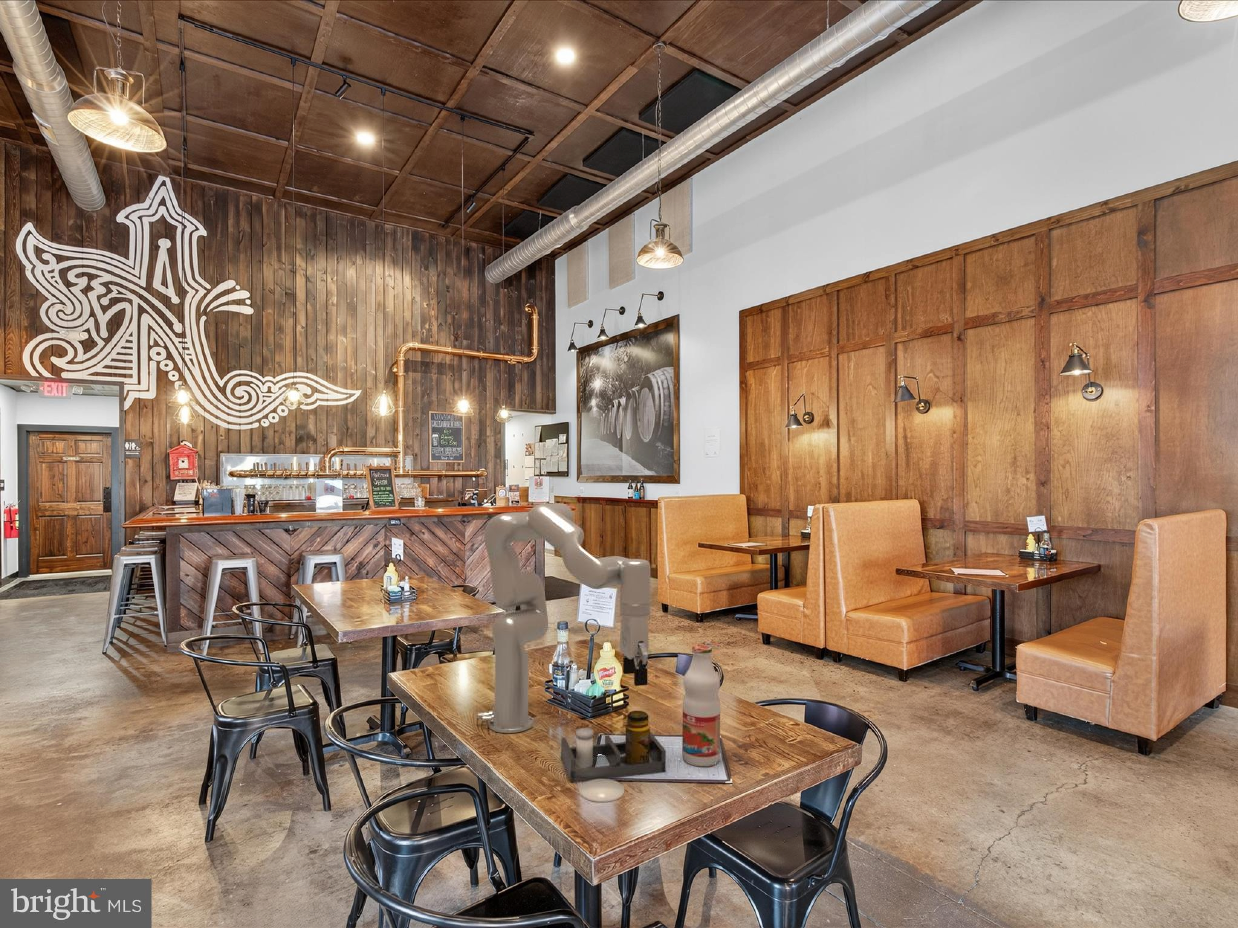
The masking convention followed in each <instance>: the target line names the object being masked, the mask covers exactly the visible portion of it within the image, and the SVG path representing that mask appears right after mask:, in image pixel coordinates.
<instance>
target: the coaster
mask: <svg viewBox="0 0 1238 928" xmlns="http://www.w3.org/2000/svg"><path fill="white" fill-rule="evenodd" d="M624 794H625V787H624V785H623V784H621V782H619V781H617V780H614V779H611V778H607V779H594V780H590V781H584V783H582V784H581V785H580V786H579V795H580V796H581V797H582V798H583V799H585V800H587V801H590V802H593V803H610V802H615V801H617V800H619V799H621V798H622V797H623V795H624Z"/></svg>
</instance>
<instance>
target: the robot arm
mask: <svg viewBox="0 0 1238 928" xmlns="http://www.w3.org/2000/svg"><path fill="white" fill-rule="evenodd" d="M483 535H484V536H483V539H484V540H483V542H484V546H485V550H486V553H487V558H488V562H489V571H490V572H489V573H490V579H491V590H492V596H493V599H494V602H495V604H496V606H498V607H500V608H503V609H507V608H513V607H515V608H516V607H519V606H520V609H519V610H515V611H511V612H507V613H503V614H502V615H500V616H499V617H497V618H496V619H495V621H494V623H493V624H492V628H491V634H492V635H491V636H492V640H493V647H494V662H495V663H494V706H492V709H489V710H488V711H478V712H477V720H482V722H488V728H489V729H490V730H492V731H493V732H497V733H501V734H514V733H515V734H517V733H520V732H521V733H522V732H525V731H527V730H529V729H531V728H532V727H533V726H534V722H535V721H534V717H532V716H531V715H529V696H530V695H529V691H530V690H529V689H530V687H529V686H530V681H529V680H530V660H529V655H528V653H527V650H526V648H525V645H526V644H528V643H532V642H536V641H539V640H540V639H542V638H543V637H544V636H545V635H546V633H547V632H548V628H549V615H548V610H547V607H548V606H547V601H546V593H545V588H544V583H543V581H542V580H541V578H540V576H539V575H538V574H537V573H535V572H533V571H530V570H526V571H522V570H521V565H520V557H519V555H518V553H517V551H516V548H514V546H513V545H512V544H513V543H516V542H517V543H518V542H528V541H529V542H530V541H538V540H541V539H543V540H544V541H545V542H546V543H548V544H549V545H550V546H551V547H553V548H554V549H555V550H556V551H557V552H559V553H560V554H561V559H562V563H563V564H564V567H565V568H566V569H567V571H568V572H569V573H570V574H571V575H572V576H573V577H574V578H575V579H576V580H578V581H579V582H580V583H581V584H583V585H584V586H586V587H588V588H590V589H592V590H601V589H606V588H611V587H616V586H619V587H620V588H619V590H620V591H619V594H620V595H619V599H620V600H619V602H620V603H619V616H620V617H621V618H620V619H621V620H620V635H619V651H620V652H621V653H622V656H623V658H622V672H623V675H633V685H634V686H635V687H639V686H640V687H641V686H647V685H648V668H649V666H648V663H649V662H648V660H649V659H648V658H649V650H650V649H649V646H650V644H649V624H648V623H649V622H648V617H649V618H650V617H651V564H650V562H649V561H648V560H646V559H643V558H642V559H641V558H627V557H623V556H620V555H618V556H617V555H613V556H612V555H611V556H605V557H599V558H596V557H594V556H592V555H591V554H590V553H589V552H588V551H587V550H585V549H584V548H583V547H582V546H581V545H582V544H583V541H584V539H585V532H584V530H583V529H582V528H581V527H580V526H578V525H577V524H576V523H575V514H574V512H573V510H572V509H571V507H570V506H568V505H566V504H565V503H561V502H556V503H555V502H553V503H540V504H537V505H534V506H533V507H531V509H530V510H529V511H522V512H521V511H517V512H516V511H513V512H504V513H500V514H497V515H495V516H494V517H492V518H491V519H490V520H488V522H487V524H486V526H485V528H484V534H483Z"/></svg>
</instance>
